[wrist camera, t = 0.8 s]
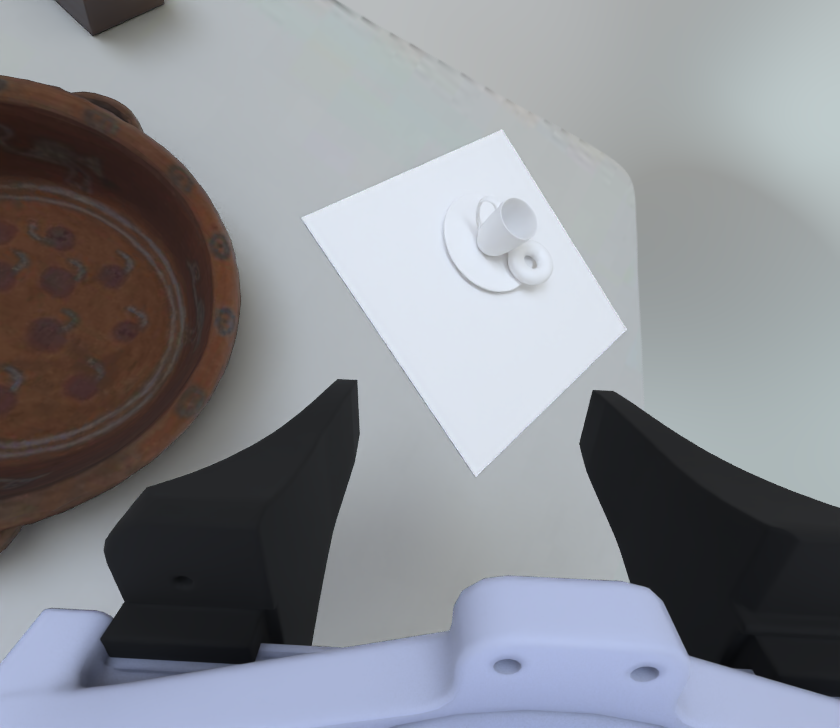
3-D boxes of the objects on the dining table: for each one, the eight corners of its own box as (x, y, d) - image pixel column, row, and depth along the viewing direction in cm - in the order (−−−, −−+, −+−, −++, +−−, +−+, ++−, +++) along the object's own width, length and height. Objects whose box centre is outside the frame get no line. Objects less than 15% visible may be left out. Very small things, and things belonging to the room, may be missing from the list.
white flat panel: (551, 275, 36) (589, 253, 32) (487, 321, 32) (523, 303, 29) (492, 181, 35) (524, 149, 32) (420, 218, 32) (448, 187, 28)
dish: (-401, 569, 15) (-663, 613, 10) (-125, 50, 20) (-216, -65, 16) (186, 572, 21) (180, 600, 17) (267, 182, 27) (279, 128, 23)
